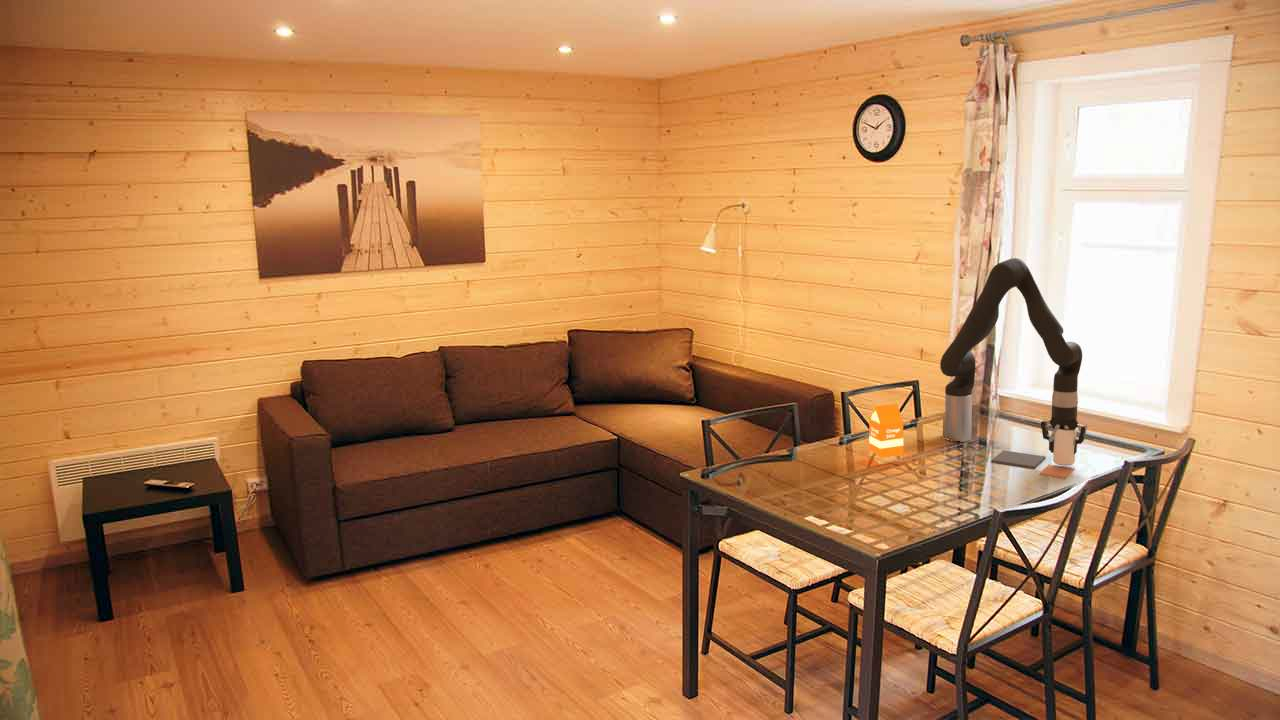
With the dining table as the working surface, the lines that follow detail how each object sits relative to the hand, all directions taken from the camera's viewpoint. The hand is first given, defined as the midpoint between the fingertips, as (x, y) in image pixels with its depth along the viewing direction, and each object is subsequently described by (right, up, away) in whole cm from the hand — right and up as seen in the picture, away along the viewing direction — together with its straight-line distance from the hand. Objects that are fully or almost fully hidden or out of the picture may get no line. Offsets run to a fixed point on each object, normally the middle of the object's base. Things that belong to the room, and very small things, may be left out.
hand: (1062, 453), depth 295 cm
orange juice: (-53, -5, +18) cm, 56 cm away
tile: (0, -5, 0) cm, 5 cm away
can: (+1, -3, +1) cm, 3 cm away
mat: (-10, -3, +10) cm, 15 cm away
